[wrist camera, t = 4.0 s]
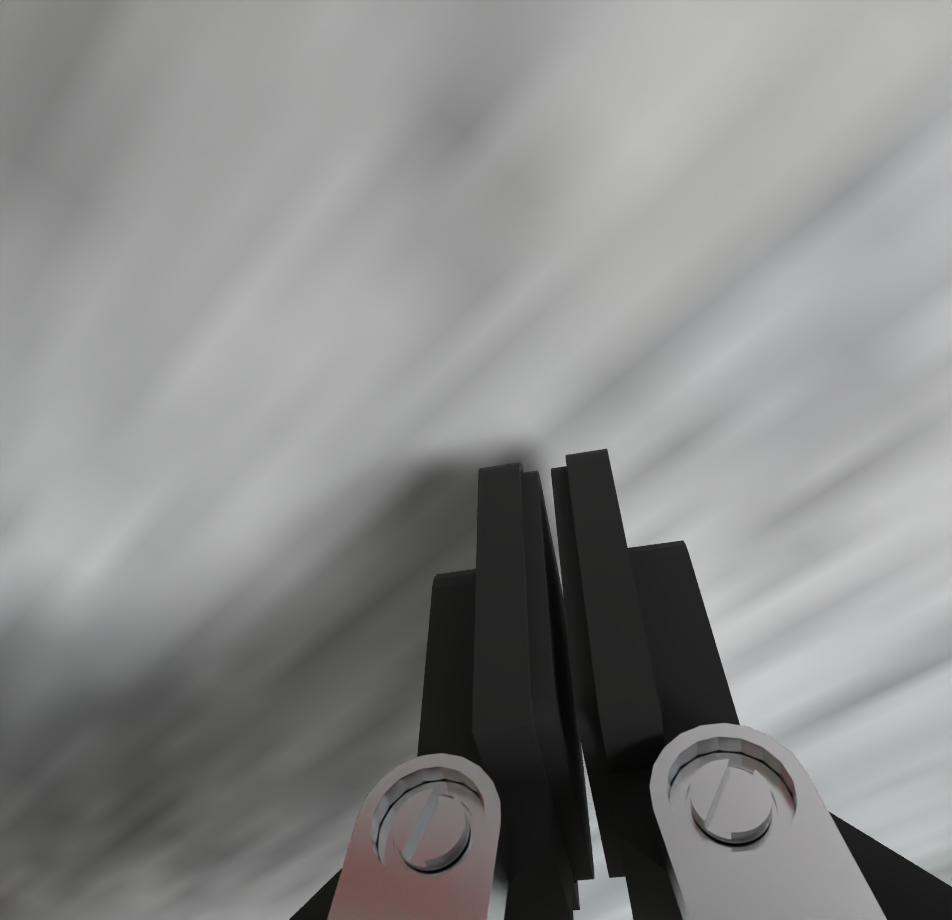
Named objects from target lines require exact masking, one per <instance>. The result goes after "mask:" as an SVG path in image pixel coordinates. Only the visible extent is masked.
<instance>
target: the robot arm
mask: <svg viewBox="0 0 952 920" xmlns="http://www.w3.org/2000/svg"><path fill="white" fill-rule="evenodd" d="M566 463H567V466H565V467H558V468H552V469H551V476H552V486H553V496H554V506H555V516H556V526H557V536H558V546H559V556H560V566H561V576H562V586H563V593H562V588H561V583H560V578H559V573H558V568H557V562H556V557H555V552H554V547H553V542H552V537H551V532H550V527H549V522H548V517H547V512H546V506H545V501H544V496H543V491H542V486H541V481H540V476H539V472H538V471H532V472H526V473H523V469H522V465H521V463H520V462H518V463H512V464H506V465H499V466H493V467H486V468H480V469H479V478H478V516H477V555H476V569H473V570H465V571H458V572H451V573H444V574H436V576H435V578H434V581H433V587H432V597H431V609H430V620H429V631H428V642H427V654H426V665H425V676H424V687H423V699H422V710H421V721H420V732H419V744H418V755H417V757H416V758H414V759H411V760H409V761H406V762H404V763H401V764H400V765H398V766H397V767H396V768H394V769H393V770H391V771H390V772H389V773H387V774H386V775H385V776H383V777H382V778H381V779H380V780H379V782H378V783H377V784H376V785H375V787H374V788H373V789H372V790H371V791H370V793H369V794H368V795H367V797H366V799H365V801H364V804H363V806H362V808H361V810H360V812H359V815H358V817H357V820H356V824H355V827H354V830H353V834H352V837H351V841H350V844H349V847H348V851H347V854H346V857H345V861H344V864H343V868H342V869H341V870H340V871H339V872H338V873H336V874H335V875H334V876H333V877H332V878H331V879H330V880H329V881H328V882H327V883H326V884H325V885H324V886H323V887H322V888H321V889H320V890H319V891H318V892H317V893H316V894H315V895H314V896H313V897H312V898H311V899H310V900H309V901H308V902H307V903H306V904H305V905H304V906H303V907H302V908H301V909H300V910H299V911H297V912H296V913H295V914H294V915H293V916H292V917H291V918H290V919H289V920H574V919H573V910H580V905H579V894H578V882H577V880H589V879H594V865H593V855H592V845H591V835H590V826H589V816H588V806H587V797H586V787H585V777H584V768H583V758H582V749H583V754H584V759H585V764H586V768H587V773H588V778H589V783H590V787H591V792H592V797H593V802H594V807H595V811H596V816H597V821H598V826H599V830H600V835H601V840H602V845H603V850H604V854H605V859H606V864H607V869H608V873H609V878H612V877H624V876H625V877H626V882H627V887H628V893H629V898H630V903H631V909H632V914H633V920H952V887H951V886H950V885H948V884H946V883H945V882H943V881H941V880H940V879H938V878H936V877H935V876H933V875H932V874H930V873H928V872H927V871H925V870H923V869H922V868H920V867H919V866H917V865H915V864H914V863H912V862H910V861H909V860H907V859H905V858H904V857H902V856H901V855H899V854H897V853H896V852H894V851H892V850H891V849H889V848H887V847H886V846H884V845H883V844H881V843H879V842H878V841H876V840H874V839H873V838H871V837H869V836H868V835H866V834H865V833H863V832H861V831H860V830H858V829H856V828H855V827H853V826H852V825H850V824H848V823H847V822H845V821H843V820H842V819H840V818H838V817H837V816H835V815H834V814H832V813H830V812H829V811H828V810H827V808H826V806H825V804H824V802H823V800H822V799H821V797H820V795H819V793H818V791H817V789H816V788H815V786H814V784H813V782H812V780H811V778H810V776H809V775H808V773H807V771H806V770H805V769H804V767H803V766H802V765H801V763H800V762H799V761H798V759H797V758H796V757H795V755H794V754H793V753H792V752H791V751H790V750H789V749H787V748H786V747H785V746H784V745H782V744H781V743H780V742H778V741H777V740H776V739H774V738H773V737H772V736H769V735H767V734H765V733H762V732H760V731H758V730H755V729H753V728H751V727H747V726H741V725H740V724H739V720H738V717H737V714H736V710H735V707H734V704H733V700H732V697H731V694H730V690H729V687H728V683H727V680H726V677H725V673H724V670H723V667H722V663H721V660H720V657H719V653H718V650H717V647H716V643H715V640H714V637H713V633H712V630H711V626H710V623H709V620H708V616H707V613H706V610H705V606H704V603H703V600H702V596H701V593H700V590H699V586H698V583H697V579H696V576H695V573H694V569H693V566H692V563H691V559H690V556H689V553H688V550H687V547H686V544H685V543H684V541H676V542H668V543H661V544H654V545H647V546H639V547H632V548H627V543H626V538H625V533H624V528H623V524H622V519H621V514H620V509H619V504H618V499H617V494H616V490H615V485H614V480H613V475H612V470H611V465H610V461H609V456H608V451H607V449H602V450H596V451H589V452H583V453H577V454H570V455H566ZM563 596H564V598H563ZM581 744H582V748H581Z"/></svg>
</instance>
